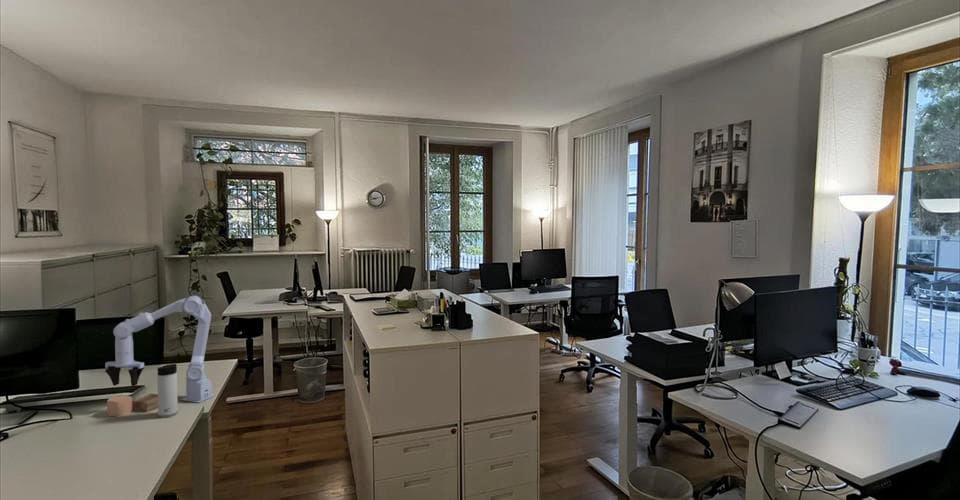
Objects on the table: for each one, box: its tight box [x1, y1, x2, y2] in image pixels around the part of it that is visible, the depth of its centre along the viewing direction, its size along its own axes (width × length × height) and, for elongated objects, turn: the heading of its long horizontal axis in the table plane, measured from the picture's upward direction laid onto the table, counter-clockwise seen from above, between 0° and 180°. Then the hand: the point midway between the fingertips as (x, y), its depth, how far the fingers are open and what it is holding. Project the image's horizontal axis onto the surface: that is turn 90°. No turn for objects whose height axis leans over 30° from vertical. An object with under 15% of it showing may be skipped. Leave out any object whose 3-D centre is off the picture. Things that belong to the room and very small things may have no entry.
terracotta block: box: [106, 394, 133, 418], centre depth 177 cm, size 6×6×6 cm
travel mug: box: [157, 363, 179, 419], centre depth 176 cm, size 6×7×20 cm
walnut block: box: [132, 393, 158, 413], centre depth 184 cm, size 8×8×4 cm
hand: (125, 385), depth 182 cm, fingers open, 7 cm apart
